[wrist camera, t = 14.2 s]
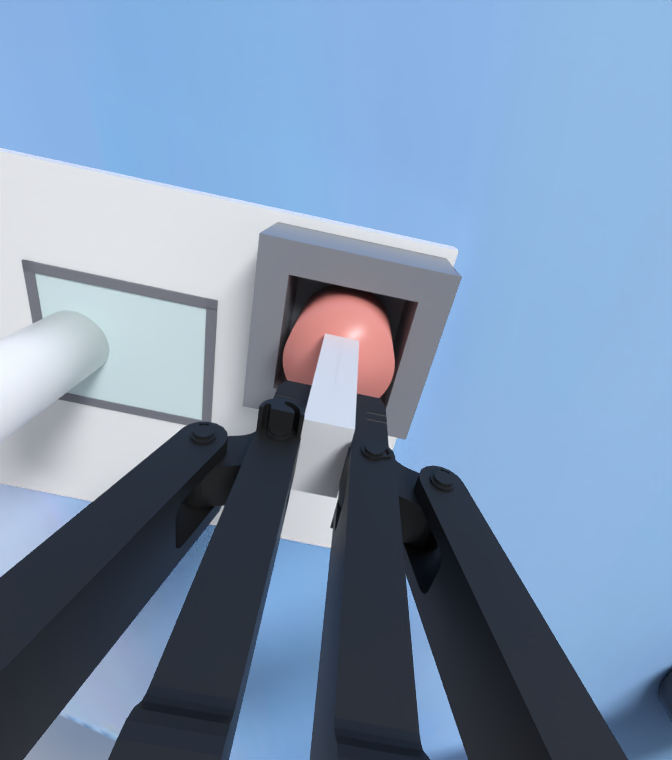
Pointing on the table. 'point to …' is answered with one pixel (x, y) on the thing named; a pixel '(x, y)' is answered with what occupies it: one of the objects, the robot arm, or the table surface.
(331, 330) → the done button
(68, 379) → the marker
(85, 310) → the sheet
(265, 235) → the button housing
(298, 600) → the table surface
